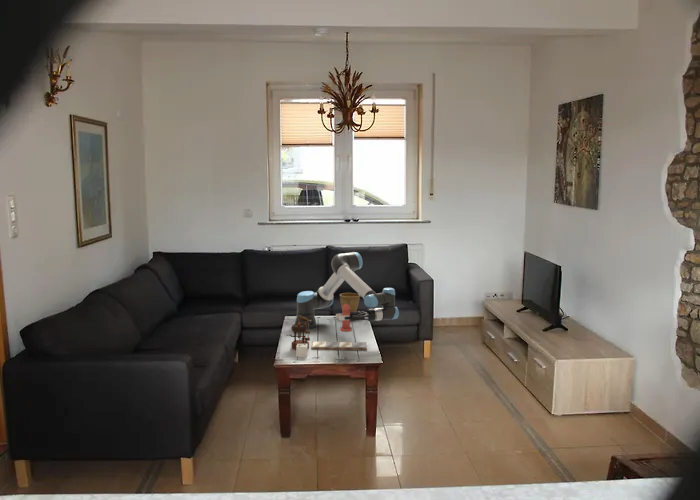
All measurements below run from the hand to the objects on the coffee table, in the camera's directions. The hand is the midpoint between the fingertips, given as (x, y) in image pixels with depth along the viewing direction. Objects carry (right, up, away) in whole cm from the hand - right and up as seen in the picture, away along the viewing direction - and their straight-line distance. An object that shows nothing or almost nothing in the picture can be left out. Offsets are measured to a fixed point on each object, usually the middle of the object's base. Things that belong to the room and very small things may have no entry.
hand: (337, 317), depth 354 cm
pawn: (+5, -8, +3) cm, 10 cm away
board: (+1, -18, +4) cm, 19 cm away
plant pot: (+7, -9, +81) cm, 81 cm away
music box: (-23, -19, +1) cm, 30 cm away
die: (-20, -20, -13) cm, 31 cm away
